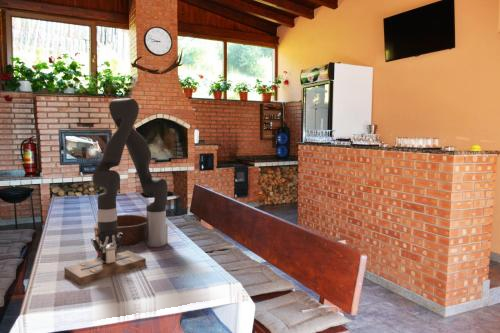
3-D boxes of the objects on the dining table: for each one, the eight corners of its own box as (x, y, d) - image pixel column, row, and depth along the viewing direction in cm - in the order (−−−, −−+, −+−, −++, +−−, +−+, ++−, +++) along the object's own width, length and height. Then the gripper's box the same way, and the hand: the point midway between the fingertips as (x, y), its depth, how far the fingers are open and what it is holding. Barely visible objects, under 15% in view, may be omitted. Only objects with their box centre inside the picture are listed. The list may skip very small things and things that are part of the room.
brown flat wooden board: (128, 256, 175) (128, 249, 174) (145, 265, 165) (145, 257, 165) (64, 274, 154) (64, 266, 154) (80, 285, 145) (80, 276, 144)
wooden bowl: (136, 250, 184) (135, 228, 183) (88, 245, 189) (88, 225, 188) (158, 234, 208) (158, 216, 207) (116, 231, 213) (115, 212, 212)
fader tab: (109, 258, 163) (108, 244, 162) (115, 261, 159) (115, 247, 159) (101, 260, 160) (101, 246, 160) (107, 263, 157) (107, 249, 156)
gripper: (118, 214, 165) (119, 253, 167) (86, 220, 155) (87, 261, 157) (128, 217, 160) (128, 257, 162) (95, 223, 150) (96, 266, 152)
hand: (108, 259), depth 160 cm, fingers closed on fader tab, 3 cm apart
